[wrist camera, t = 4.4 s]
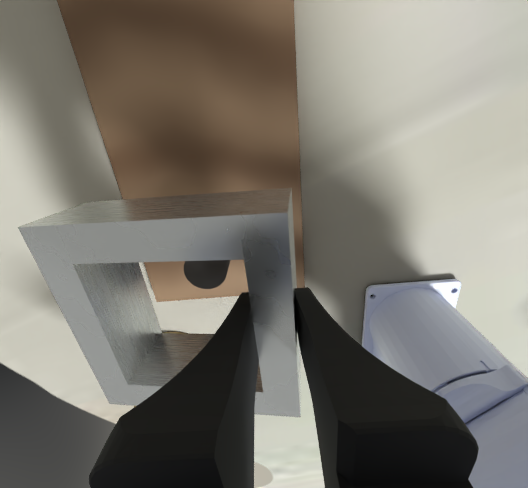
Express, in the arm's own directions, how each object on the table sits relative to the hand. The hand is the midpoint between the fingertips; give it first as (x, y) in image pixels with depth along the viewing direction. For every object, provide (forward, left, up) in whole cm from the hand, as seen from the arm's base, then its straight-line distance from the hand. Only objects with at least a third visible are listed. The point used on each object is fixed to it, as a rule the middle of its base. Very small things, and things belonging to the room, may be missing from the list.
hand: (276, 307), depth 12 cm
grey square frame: (0, +4, -2) cm, 4 cm away
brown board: (+5, +4, -10) cm, 12 cm away
